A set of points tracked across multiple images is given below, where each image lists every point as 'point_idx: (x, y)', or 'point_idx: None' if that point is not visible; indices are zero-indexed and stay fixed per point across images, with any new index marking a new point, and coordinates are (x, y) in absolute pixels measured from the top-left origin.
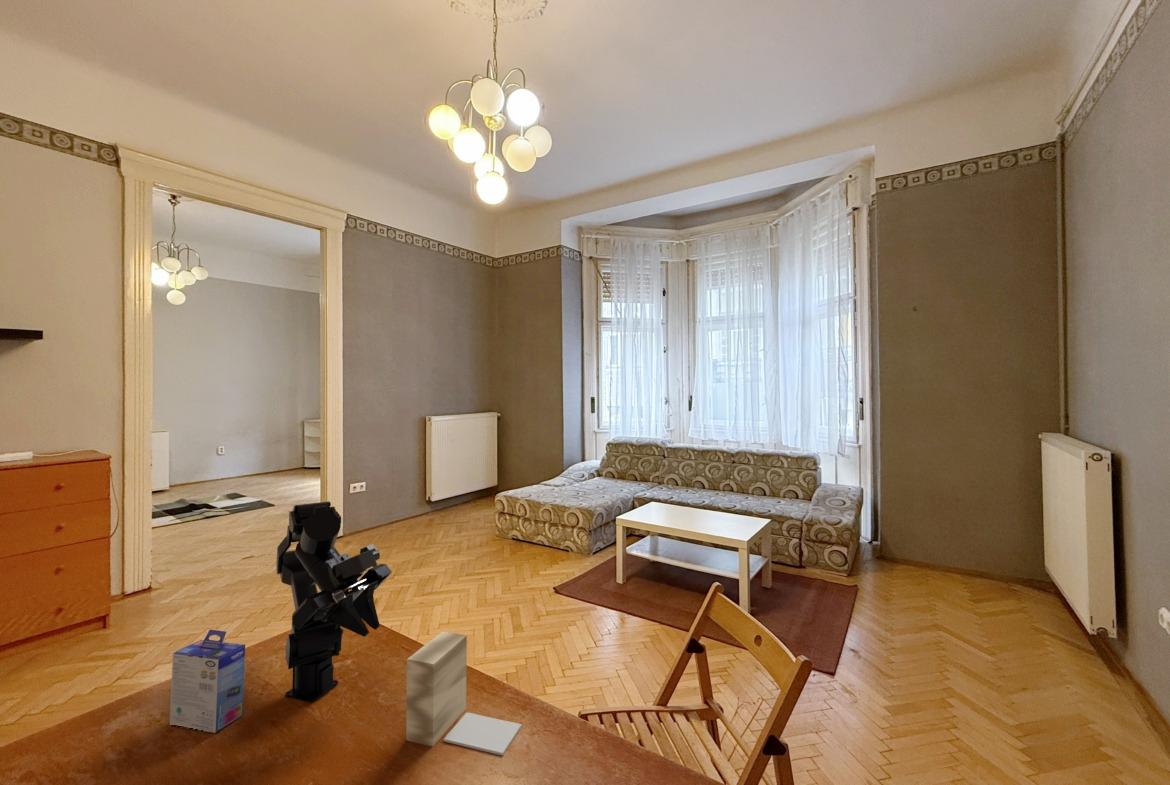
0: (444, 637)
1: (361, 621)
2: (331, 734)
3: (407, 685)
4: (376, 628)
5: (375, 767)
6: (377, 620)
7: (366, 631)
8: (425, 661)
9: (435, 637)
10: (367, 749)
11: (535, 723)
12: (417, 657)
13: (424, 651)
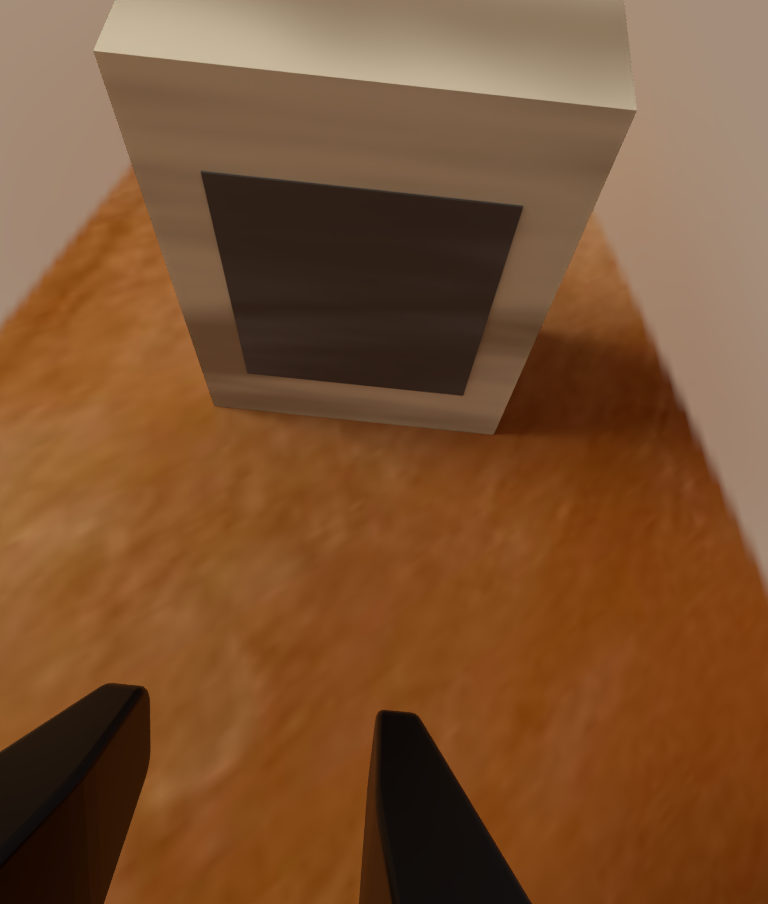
0: (217, 5)
1: (450, 888)
2: (579, 845)
3: (567, 263)
4: (146, 732)
5: (671, 467)
6: (60, 732)
7: (426, 730)
8: (610, 2)
9: (227, 59)
10: (600, 565)
11: None
12: (583, 60)
13: (482, 50)
